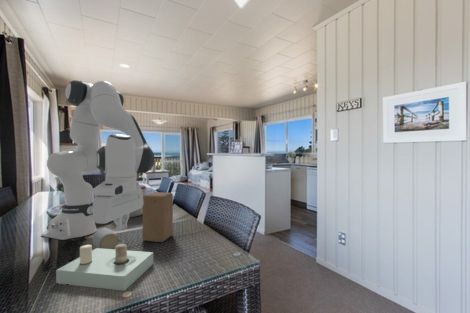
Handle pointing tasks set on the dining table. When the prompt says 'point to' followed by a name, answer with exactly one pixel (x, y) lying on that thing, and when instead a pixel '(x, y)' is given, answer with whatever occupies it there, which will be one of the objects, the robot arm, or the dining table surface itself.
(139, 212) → the canister
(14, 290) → the dining table surface
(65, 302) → the dining table surface
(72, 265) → the board
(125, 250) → the peg
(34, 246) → the dining table surface
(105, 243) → the ceramic mug
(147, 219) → the wooden block
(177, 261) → the dining table surface
